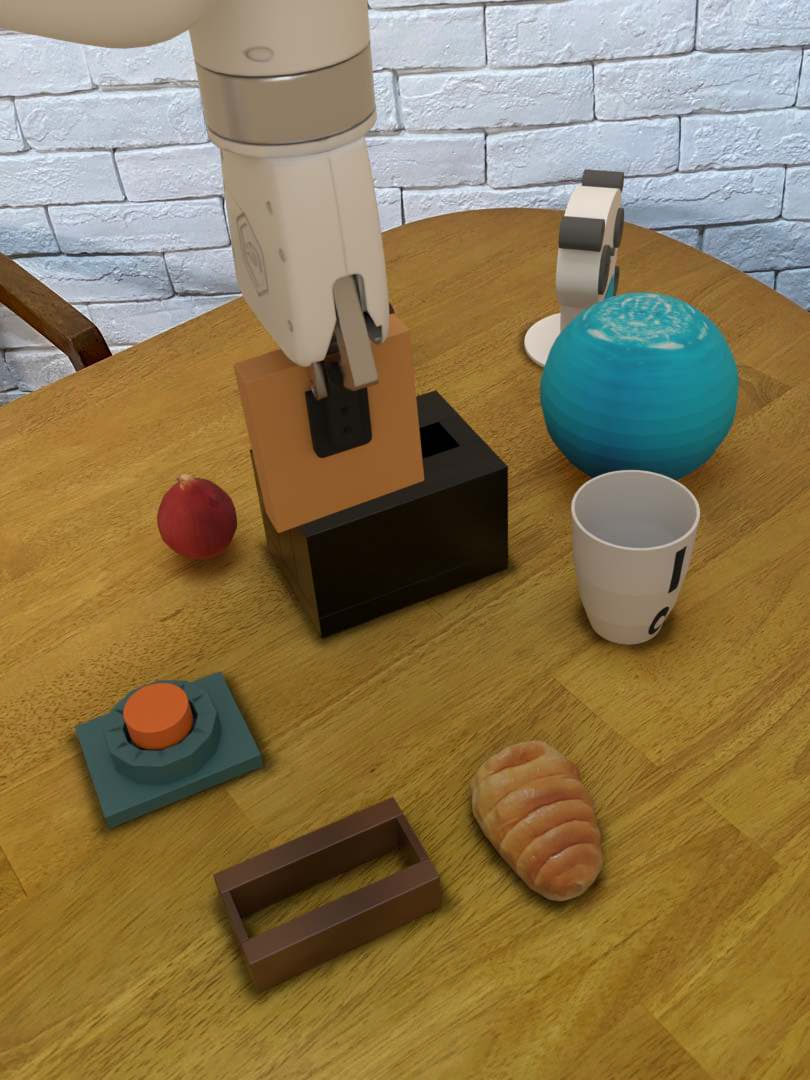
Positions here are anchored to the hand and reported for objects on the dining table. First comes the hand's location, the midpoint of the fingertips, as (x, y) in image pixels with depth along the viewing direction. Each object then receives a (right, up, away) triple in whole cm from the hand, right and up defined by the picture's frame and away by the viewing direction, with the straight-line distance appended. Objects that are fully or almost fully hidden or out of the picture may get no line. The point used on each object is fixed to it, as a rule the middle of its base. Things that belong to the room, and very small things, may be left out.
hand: (333, 432), depth 61 cm
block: (-11, -19, +11) cm, 25 cm away
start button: (-11, -17, +10) cm, 23 cm away
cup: (+19, -11, +18) cm, 29 cm away
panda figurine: (+21, +12, +45) cm, 51 cm away
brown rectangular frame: (0, -26, +2) cm, 26 cm away
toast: (+1, -3, +3) cm, 5 cm away
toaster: (+2, -7, +24) cm, 25 cm away
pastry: (+12, -23, +6) cm, 26 cm away
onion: (-11, -7, +26) cm, 29 cm away
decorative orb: (+22, 0, +31) cm, 38 cm away
